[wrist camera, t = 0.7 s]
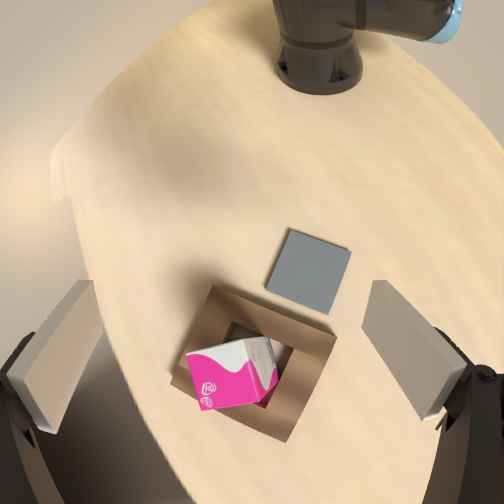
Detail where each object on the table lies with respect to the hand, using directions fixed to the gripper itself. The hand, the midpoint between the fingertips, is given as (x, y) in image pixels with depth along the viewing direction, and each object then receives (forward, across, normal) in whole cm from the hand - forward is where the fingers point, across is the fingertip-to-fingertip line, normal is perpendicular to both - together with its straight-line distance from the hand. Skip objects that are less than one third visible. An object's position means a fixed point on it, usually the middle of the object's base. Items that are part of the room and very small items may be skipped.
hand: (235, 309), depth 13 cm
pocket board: (+16, +3, -18) cm, 24 cm away
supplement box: (+16, +3, -18) cm, 24 cm away
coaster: (+20, +10, -8) cm, 24 cm away
